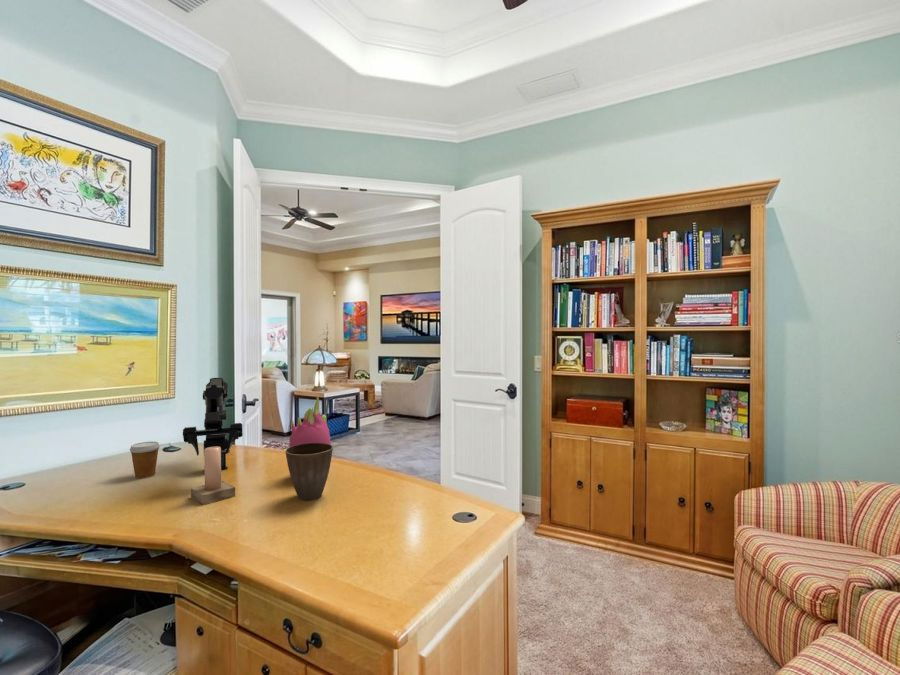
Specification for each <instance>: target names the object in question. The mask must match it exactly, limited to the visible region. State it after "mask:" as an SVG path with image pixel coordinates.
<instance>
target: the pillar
mask: <svg viewBox="0 0 900 675" xmlns="http://www.w3.org/2000/svg"><path fill="white" fill-rule="evenodd" d="M203 459H204V460H203V461H204V466H203V467H204V485H205V490H215V489H218V488H220V487H221V481H222V470H221V447H218V446H215V447H208V448H205V449H204V448H203Z"/></svg>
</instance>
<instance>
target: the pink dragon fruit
mask: <svg viewBox="0 0 900 675" xmlns="http://www.w3.org/2000/svg"><path fill="white" fill-rule="evenodd" d="M290 424H291V425H290V428H291V435H289V447H292V446H295V445H299V444H306V443H326V444H330V445H332V442H331V435H330V429H329V427H328V422H327V416H326V415H325V414H321V411H320V399H319V396H316V400H315V403H314V406H312V408H308V409H307V410H306V411H305V412H304V415H303V420H302V419H301V417H297V425H296V426H295V423H294V420H292V421H291V423H290Z"/></svg>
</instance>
